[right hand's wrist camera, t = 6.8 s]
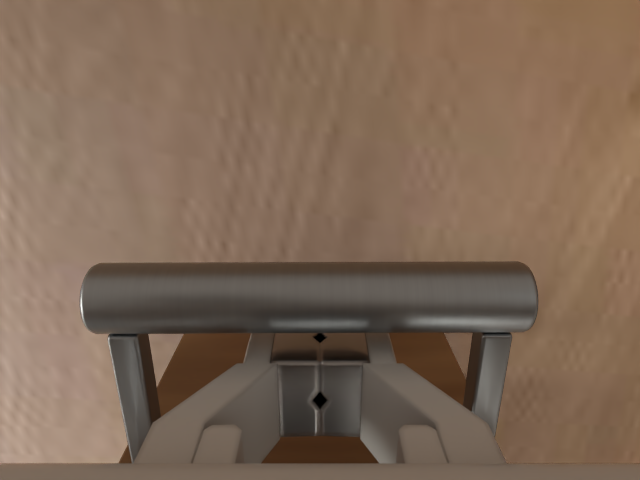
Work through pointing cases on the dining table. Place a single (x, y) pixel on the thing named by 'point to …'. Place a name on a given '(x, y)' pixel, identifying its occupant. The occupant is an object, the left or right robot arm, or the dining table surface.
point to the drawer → (304, 328)
